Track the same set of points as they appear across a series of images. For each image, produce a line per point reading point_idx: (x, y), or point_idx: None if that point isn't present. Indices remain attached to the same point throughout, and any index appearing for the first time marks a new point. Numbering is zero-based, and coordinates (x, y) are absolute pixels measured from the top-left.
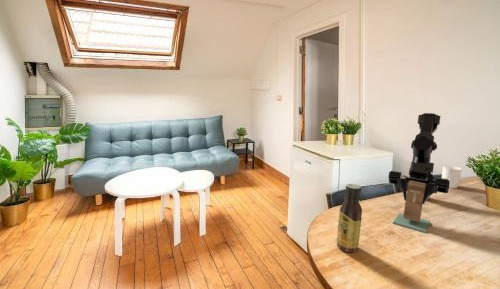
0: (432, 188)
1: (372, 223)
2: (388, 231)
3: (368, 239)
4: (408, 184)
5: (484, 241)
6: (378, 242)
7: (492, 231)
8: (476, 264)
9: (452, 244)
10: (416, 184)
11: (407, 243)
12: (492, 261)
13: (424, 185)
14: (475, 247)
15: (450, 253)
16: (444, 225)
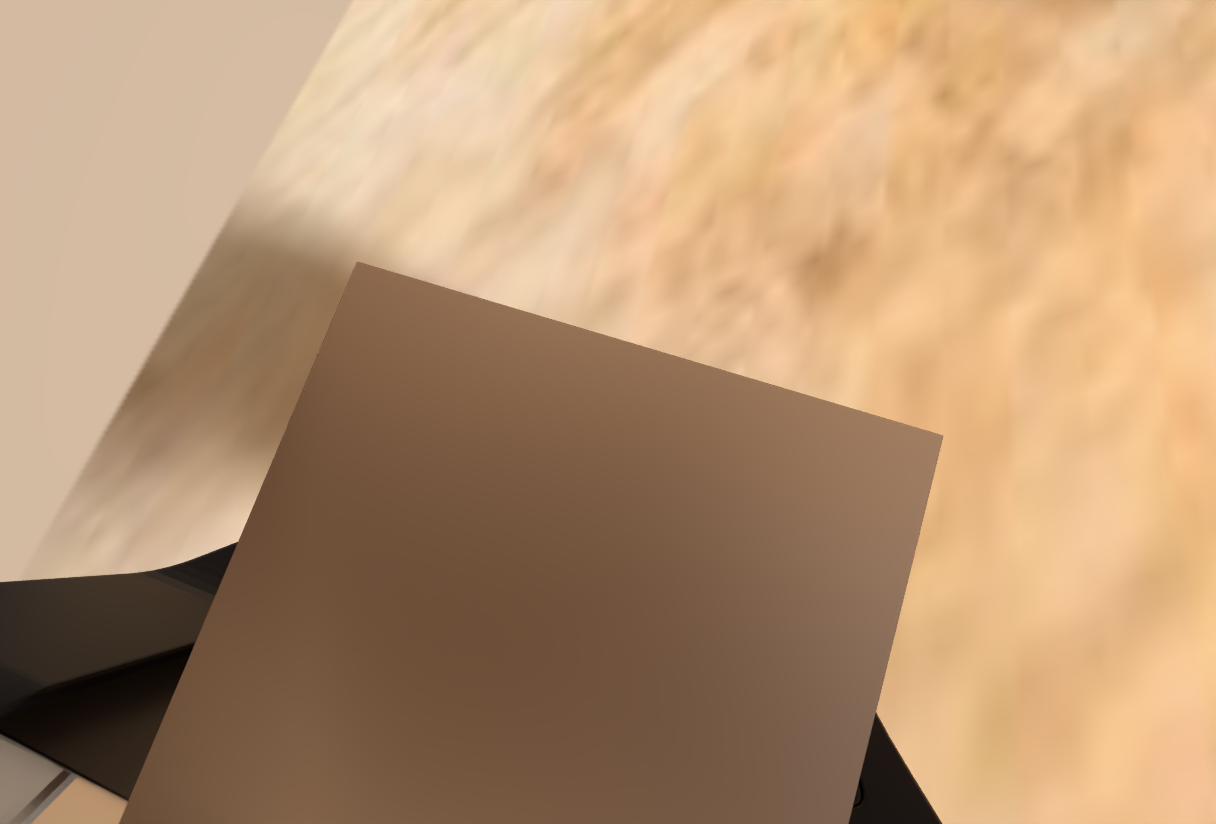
0: (112, 577)
1: (968, 384)
2: (841, 278)
3: (999, 98)
4: (906, 433)
5: (202, 362)
6: (928, 83)
7: (45, 564)
8: (402, 51)
9: (434, 239)
10: (578, 490)
11: (730, 143)
12: (299, 115)
13: (291, 480)
14: (306, 251)
15: (495, 117)
16: None
